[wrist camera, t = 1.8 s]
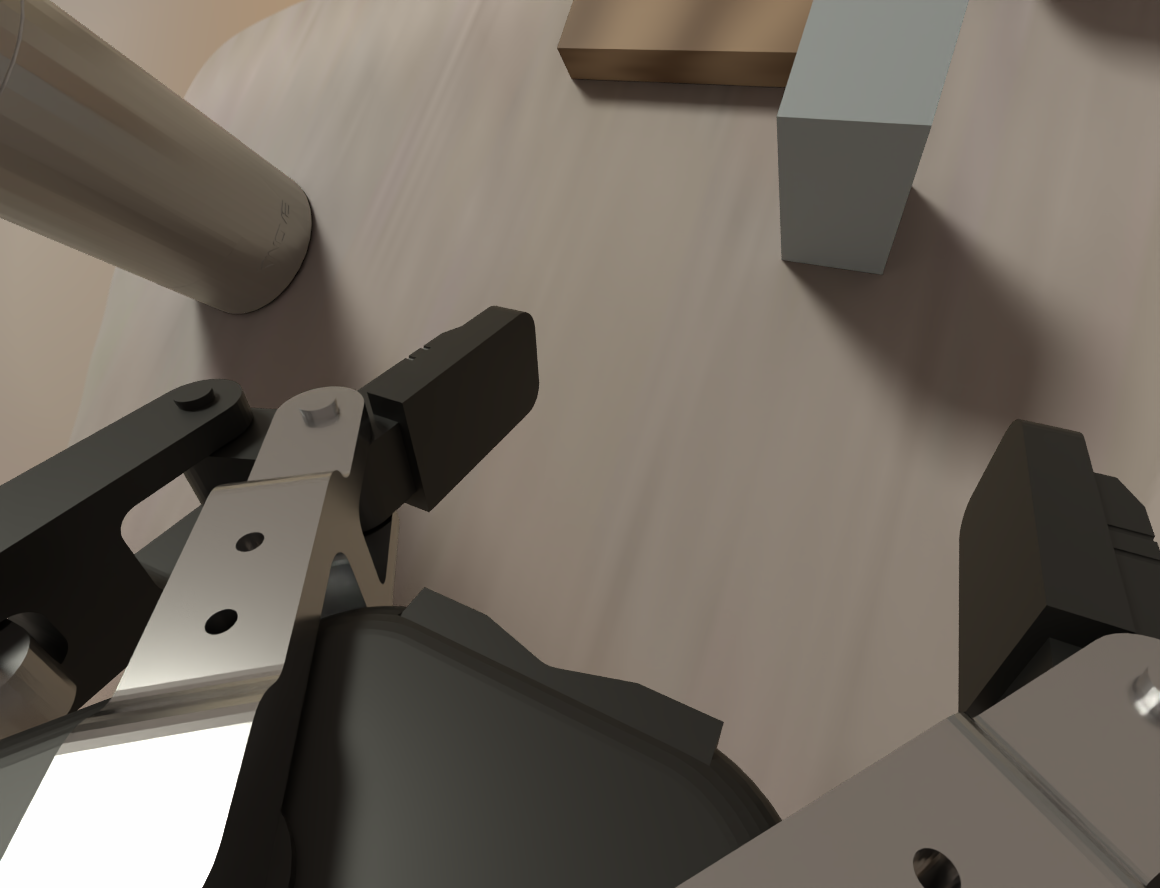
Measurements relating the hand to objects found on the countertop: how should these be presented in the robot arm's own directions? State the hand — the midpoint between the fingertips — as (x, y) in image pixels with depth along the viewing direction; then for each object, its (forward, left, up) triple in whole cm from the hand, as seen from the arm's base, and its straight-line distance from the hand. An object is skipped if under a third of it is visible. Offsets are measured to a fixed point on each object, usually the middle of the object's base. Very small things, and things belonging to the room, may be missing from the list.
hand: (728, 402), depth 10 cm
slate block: (0, +12, -15) cm, 19 cm away
